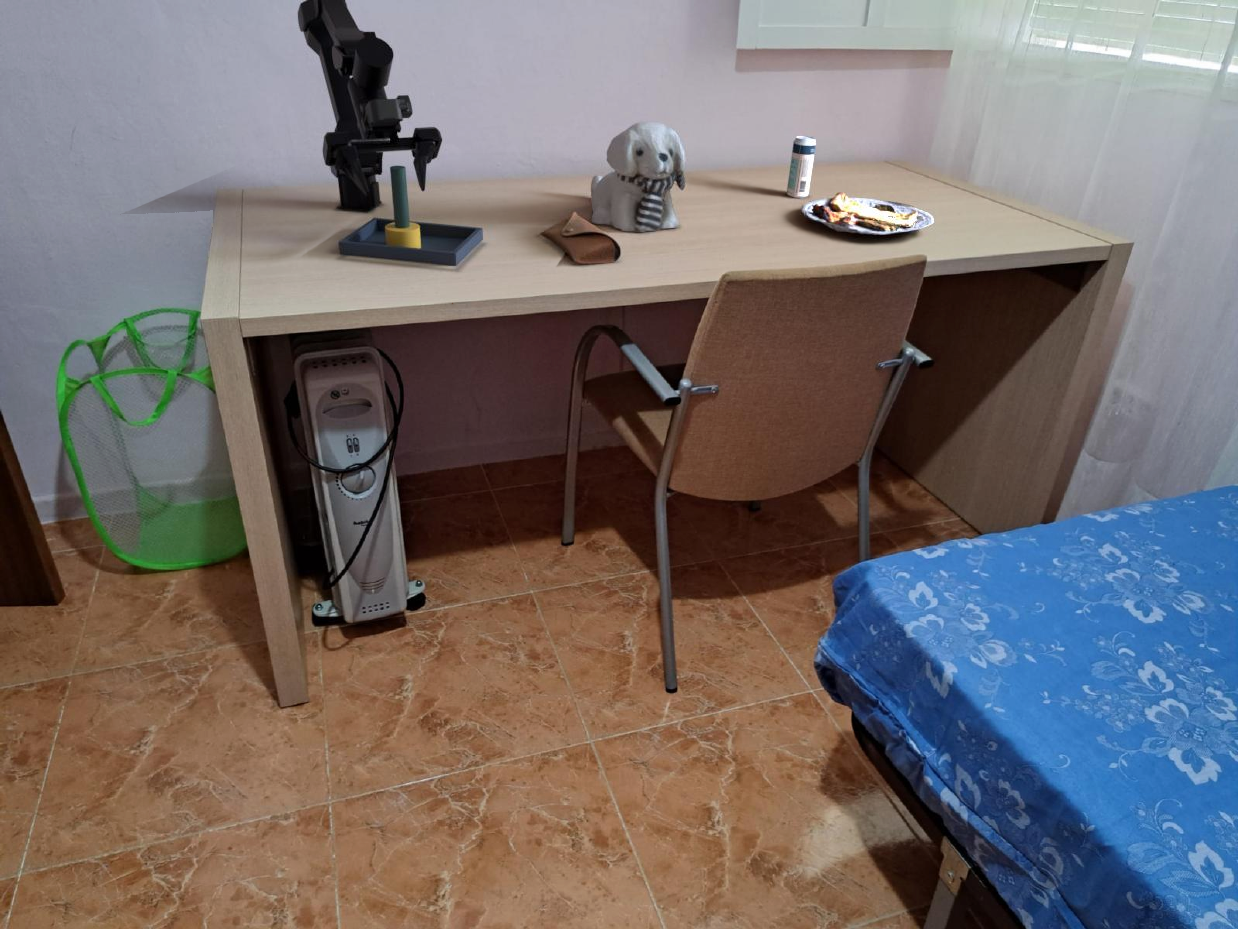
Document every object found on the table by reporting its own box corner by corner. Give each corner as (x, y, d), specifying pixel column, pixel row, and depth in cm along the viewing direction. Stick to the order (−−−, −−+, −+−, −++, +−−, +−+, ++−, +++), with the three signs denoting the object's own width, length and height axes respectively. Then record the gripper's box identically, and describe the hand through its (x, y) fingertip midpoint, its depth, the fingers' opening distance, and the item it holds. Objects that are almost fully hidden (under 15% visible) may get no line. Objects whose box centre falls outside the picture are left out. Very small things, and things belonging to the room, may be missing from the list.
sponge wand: (380, 250, 149) (373, 169, 142) (396, 240, 153) (389, 161, 147) (412, 254, 148) (406, 172, 141) (426, 244, 152) (421, 165, 146)
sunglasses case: (534, 232, 162) (552, 198, 160) (564, 248, 166) (582, 215, 164) (575, 263, 148) (595, 227, 146) (608, 280, 152) (627, 245, 151)
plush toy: (653, 239, 163) (660, 133, 154) (543, 213, 174) (543, 113, 165) (700, 218, 176) (709, 119, 167) (594, 195, 187) (597, 101, 178)
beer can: (811, 195, 196) (820, 137, 189) (803, 199, 192) (811, 141, 186) (791, 191, 198) (799, 134, 192) (782, 195, 194) (790, 137, 188)
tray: (340, 258, 146) (338, 241, 145) (375, 233, 159) (374, 217, 157) (456, 270, 144) (455, 253, 143) (483, 243, 157) (482, 227, 155)
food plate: (777, 220, 178) (780, 202, 176) (839, 201, 193) (842, 184, 191) (892, 251, 164) (896, 232, 162) (949, 227, 179) (953, 210, 177)
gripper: (317, 77, 138) (342, 168, 136) (435, 74, 146) (461, 160, 144) (313, 121, 148) (336, 206, 146) (423, 116, 156) (447, 197, 153)
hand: (396, 192), depth 147 cm, fingers open, 9 cm apart
